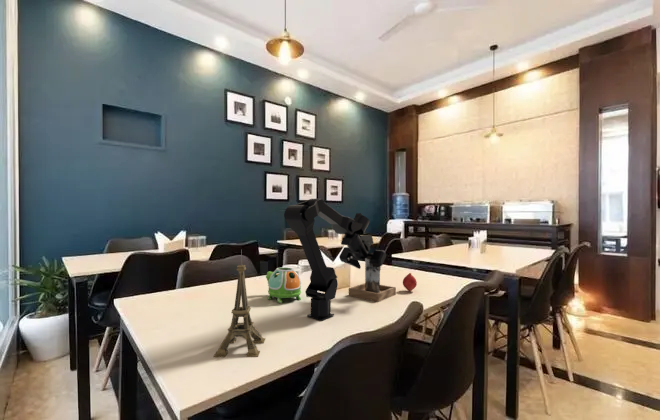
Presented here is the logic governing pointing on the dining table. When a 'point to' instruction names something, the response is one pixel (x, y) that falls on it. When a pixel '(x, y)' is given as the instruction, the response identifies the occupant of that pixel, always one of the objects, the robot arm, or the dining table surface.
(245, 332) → the eiffel tower
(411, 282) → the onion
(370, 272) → the tin
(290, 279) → the turtle holder
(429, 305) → the dining table surface
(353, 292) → the tray
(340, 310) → the dining table surface
